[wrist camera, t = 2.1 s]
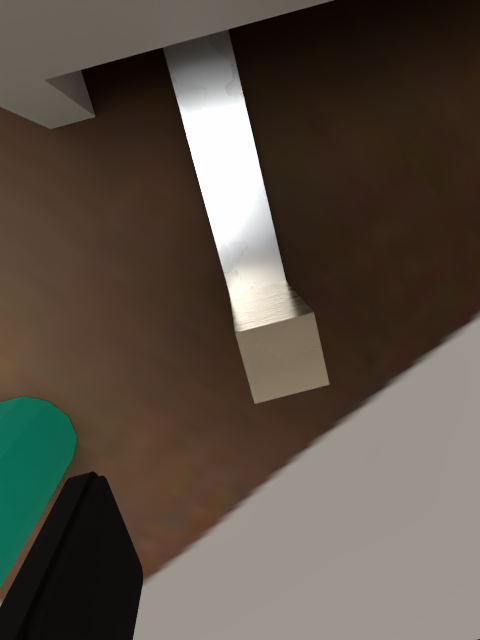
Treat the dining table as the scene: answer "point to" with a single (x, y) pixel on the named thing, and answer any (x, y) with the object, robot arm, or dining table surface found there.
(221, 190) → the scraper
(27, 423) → the candle
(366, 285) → the dining table surface
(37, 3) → the cabinet
